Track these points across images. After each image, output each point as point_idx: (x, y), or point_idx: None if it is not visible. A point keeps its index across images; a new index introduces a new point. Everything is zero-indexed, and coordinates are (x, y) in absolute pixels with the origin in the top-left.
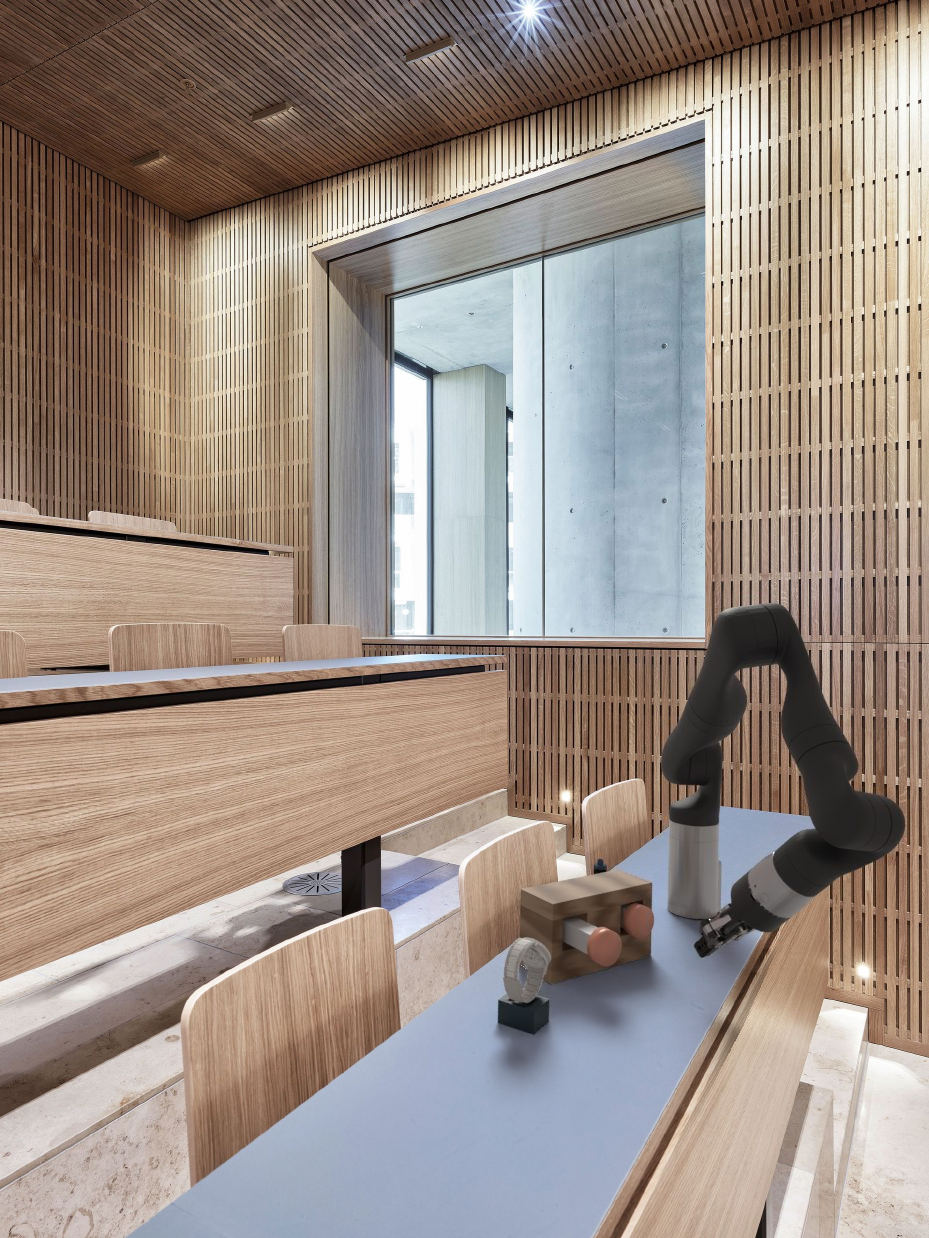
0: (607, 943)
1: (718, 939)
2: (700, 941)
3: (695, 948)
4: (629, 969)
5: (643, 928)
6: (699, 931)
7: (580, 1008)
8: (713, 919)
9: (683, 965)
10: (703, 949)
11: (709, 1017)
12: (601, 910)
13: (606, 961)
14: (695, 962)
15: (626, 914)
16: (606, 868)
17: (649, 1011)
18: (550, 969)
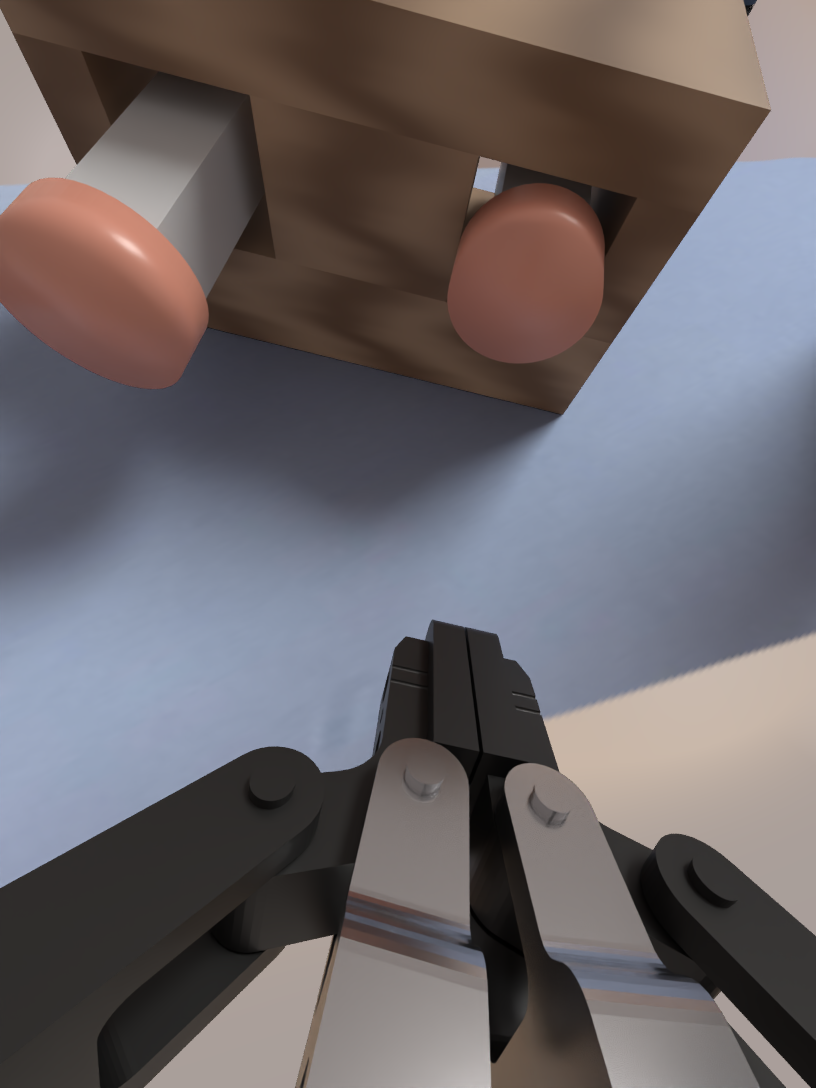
0: (56, 292)
1: (327, 967)
2: (387, 693)
3: (426, 637)
4: (423, 414)
5: (515, 328)
6: (226, 765)
7: (40, 438)
8: (330, 991)
9: (593, 514)
10: (377, 727)
11: None
12: (345, 127)
13: (102, 365)
14: (648, 530)
15: (472, 222)
16: (746, 3)
17: (171, 608)
18: None
